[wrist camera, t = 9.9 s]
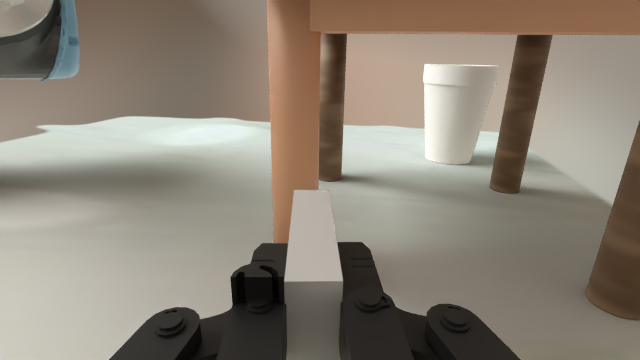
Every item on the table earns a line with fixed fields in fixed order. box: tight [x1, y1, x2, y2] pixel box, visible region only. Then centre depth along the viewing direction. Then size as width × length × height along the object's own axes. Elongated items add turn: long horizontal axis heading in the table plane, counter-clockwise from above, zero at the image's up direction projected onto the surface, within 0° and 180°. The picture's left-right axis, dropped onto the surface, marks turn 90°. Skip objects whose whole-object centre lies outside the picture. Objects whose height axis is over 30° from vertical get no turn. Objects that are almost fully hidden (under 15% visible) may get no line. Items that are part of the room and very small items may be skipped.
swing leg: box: [267, 0, 640, 243], centre depth 21 cm, size 20×3×16 cm, turn 78°
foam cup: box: [423, 64, 499, 165], centre depth 50 cm, size 10×9×13 cm
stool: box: [318, 33, 640, 320], centre depth 29 cm, size 24×24×20 cm
